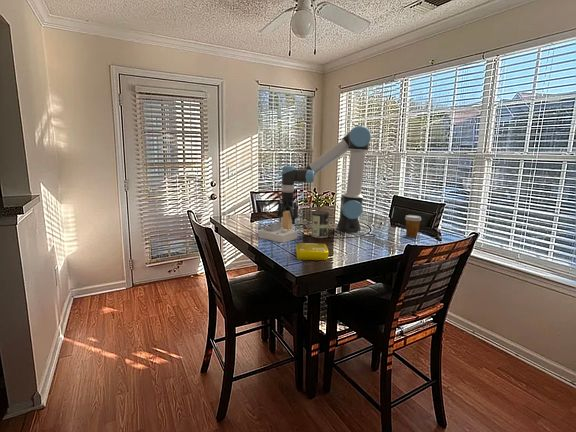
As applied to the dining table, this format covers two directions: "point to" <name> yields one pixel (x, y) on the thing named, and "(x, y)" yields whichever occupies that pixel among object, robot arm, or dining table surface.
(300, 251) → the element tile
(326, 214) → the coffee can
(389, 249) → the dining table surface
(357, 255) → the dining table surface
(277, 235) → the socket plate
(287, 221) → the plug
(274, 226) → the shutter
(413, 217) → the disposable coffee cup
